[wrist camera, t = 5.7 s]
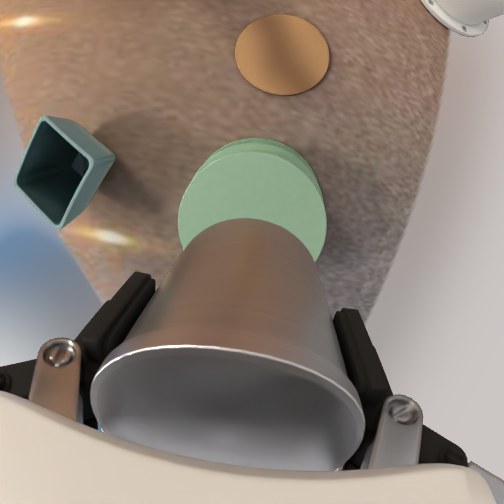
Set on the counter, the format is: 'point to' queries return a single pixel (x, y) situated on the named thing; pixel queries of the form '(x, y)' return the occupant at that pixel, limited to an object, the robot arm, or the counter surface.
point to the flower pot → (62, 169)
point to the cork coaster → (282, 54)
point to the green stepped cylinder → (255, 192)
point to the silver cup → (235, 359)
